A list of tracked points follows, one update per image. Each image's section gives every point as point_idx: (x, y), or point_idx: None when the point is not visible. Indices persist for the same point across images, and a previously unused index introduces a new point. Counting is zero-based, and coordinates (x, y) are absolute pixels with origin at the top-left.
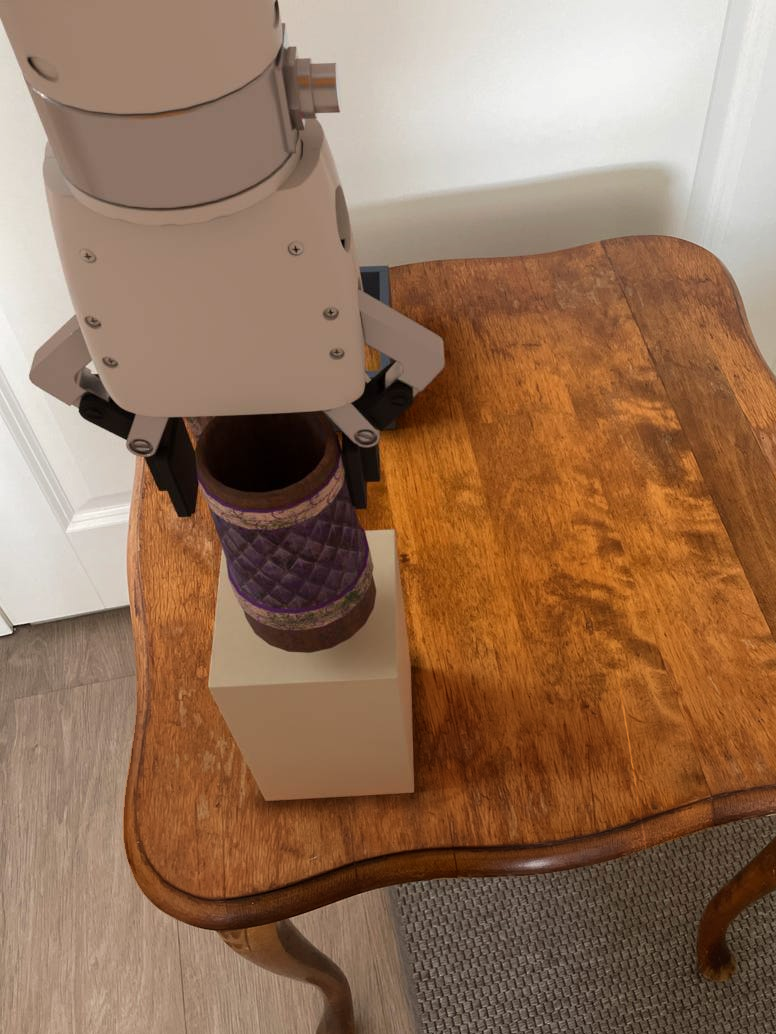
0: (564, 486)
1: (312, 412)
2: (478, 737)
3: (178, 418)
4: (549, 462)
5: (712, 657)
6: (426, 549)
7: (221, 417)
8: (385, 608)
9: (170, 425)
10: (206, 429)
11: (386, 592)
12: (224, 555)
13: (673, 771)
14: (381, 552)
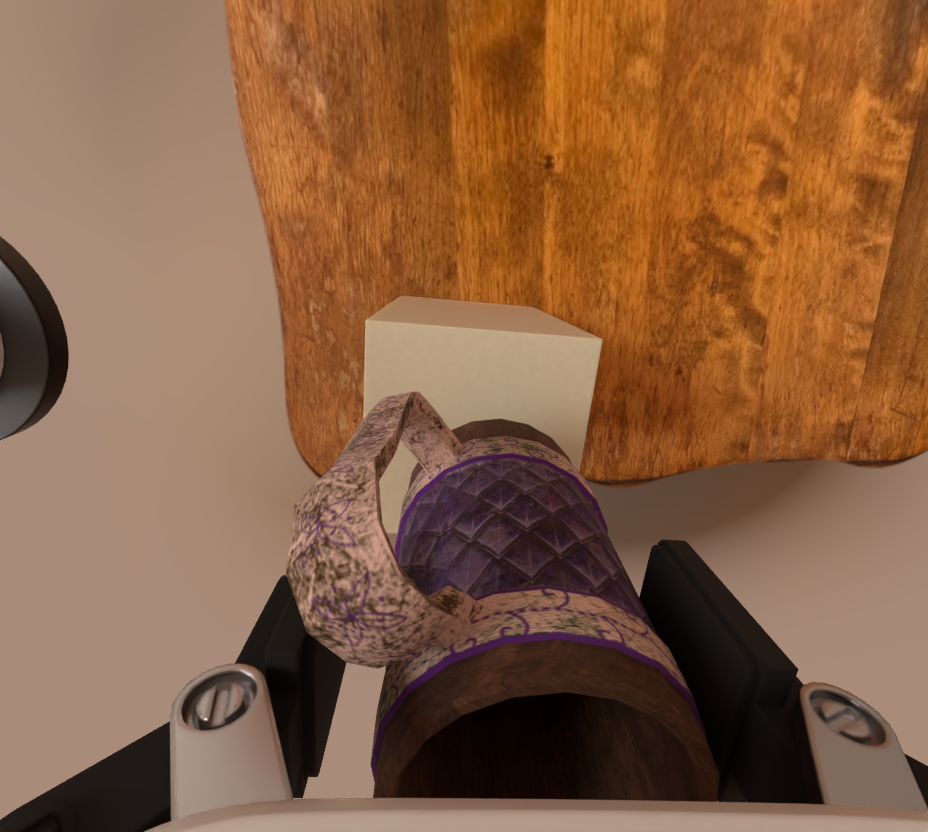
0: (761, 72)
1: (680, 740)
2: None
3: (314, 675)
4: (758, 21)
5: (809, 338)
6: (575, 152)
7: (437, 731)
8: (569, 458)
9: (297, 723)
10: (398, 763)
11: (574, 436)
12: (369, 353)
13: (727, 439)
14: (578, 376)
